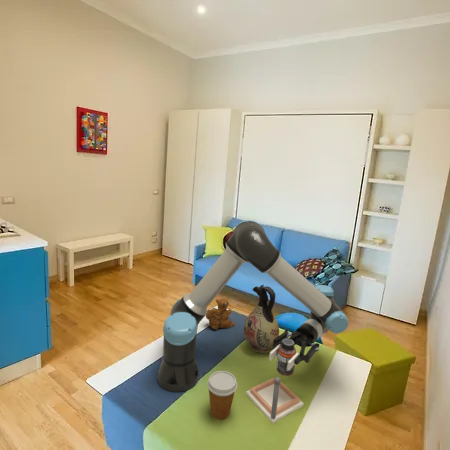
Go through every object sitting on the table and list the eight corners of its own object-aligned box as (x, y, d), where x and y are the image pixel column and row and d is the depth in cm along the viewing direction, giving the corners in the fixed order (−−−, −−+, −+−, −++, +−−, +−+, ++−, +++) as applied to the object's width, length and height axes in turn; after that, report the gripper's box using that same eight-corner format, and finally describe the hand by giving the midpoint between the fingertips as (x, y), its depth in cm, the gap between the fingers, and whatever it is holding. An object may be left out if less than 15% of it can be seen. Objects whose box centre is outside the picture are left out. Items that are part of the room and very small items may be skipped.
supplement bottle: (285, 363, 109) (288, 334, 107) (297, 373, 104) (301, 343, 102) (272, 368, 106) (275, 339, 103) (284, 379, 101) (288, 348, 99)
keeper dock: (272, 423, 97) (277, 381, 94) (245, 393, 109) (249, 355, 105) (303, 405, 105) (308, 366, 102) (275, 380, 116) (279, 343, 113)
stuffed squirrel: (236, 324, 153) (238, 300, 150) (215, 335, 143) (217, 309, 140) (221, 316, 159) (223, 293, 156) (201, 326, 149) (202, 301, 146)
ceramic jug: (235, 342, 138) (240, 280, 131) (262, 333, 146) (268, 274, 140) (259, 365, 124) (266, 296, 118) (287, 353, 132) (295, 289, 126)
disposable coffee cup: (224, 429, 94) (227, 396, 91) (199, 414, 99) (201, 382, 96) (240, 409, 102) (242, 377, 99) (216, 396, 107) (218, 365, 104)
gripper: (331, 352, 113) (305, 386, 95) (285, 331, 124) (253, 358, 106) (334, 333, 111) (308, 364, 93) (287, 314, 122) (255, 338, 105)
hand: (279, 361), depth 100 cm, fingers closed on supplement bottle, 6 cm apart
